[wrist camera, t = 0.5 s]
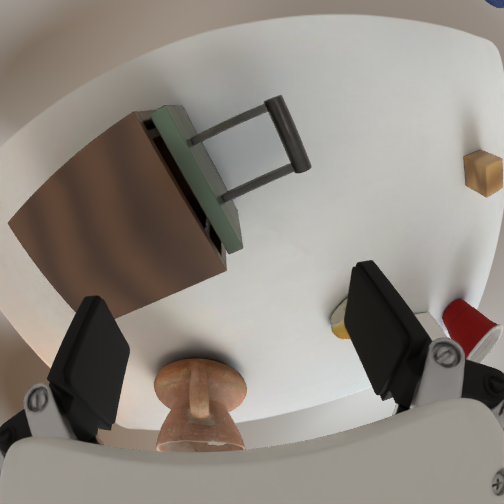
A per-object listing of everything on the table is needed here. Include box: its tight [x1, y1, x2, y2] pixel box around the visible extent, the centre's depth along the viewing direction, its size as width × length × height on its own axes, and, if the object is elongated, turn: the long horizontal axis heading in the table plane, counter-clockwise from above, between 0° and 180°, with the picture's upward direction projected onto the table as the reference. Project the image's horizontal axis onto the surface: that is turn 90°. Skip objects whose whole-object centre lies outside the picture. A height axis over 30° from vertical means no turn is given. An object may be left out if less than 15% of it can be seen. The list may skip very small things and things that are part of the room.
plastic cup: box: [442, 299, 503, 363], centre depth 36 cm, size 11×11×12 cm
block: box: [464, 150, 503, 197], centre depth 25 cm, size 4×4×4 cm
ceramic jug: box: [154, 358, 247, 452], centre depth 34 cm, size 18×14×14 cm
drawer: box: [148, 95, 311, 254], centre depth 21 cm, size 21×11×7 cm, turn 114°
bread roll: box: [331, 298, 350, 339], centre depth 35 cm, size 8×9×4 cm
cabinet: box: [8, 110, 227, 319], centre depth 21 cm, size 15×13×9 cm
